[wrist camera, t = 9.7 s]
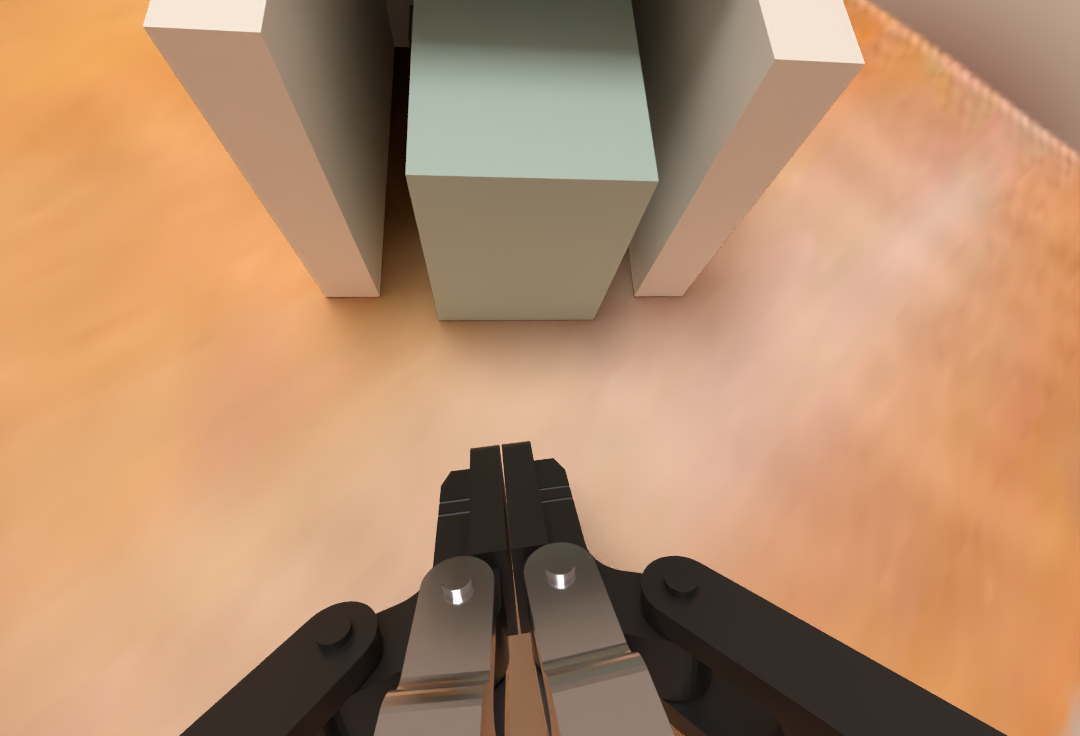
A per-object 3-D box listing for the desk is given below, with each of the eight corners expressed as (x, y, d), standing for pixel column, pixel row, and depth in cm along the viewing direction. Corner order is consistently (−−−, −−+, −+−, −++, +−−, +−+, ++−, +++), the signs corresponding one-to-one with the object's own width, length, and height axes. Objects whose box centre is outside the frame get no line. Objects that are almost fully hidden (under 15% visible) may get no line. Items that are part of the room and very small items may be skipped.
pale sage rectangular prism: (593, 319, 20) (659, 181, 12) (438, 320, 19) (405, 174, 11) (572, 87, 23) (611, -127, 16) (443, 81, 23) (420, -145, 15)
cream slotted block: (682, 296, 20) (923, -11, 9) (325, 297, 19) (77, -71, 7) (640, 37, 25) (764, -379, 14) (352, 21, 23) (225, -461, 12)
